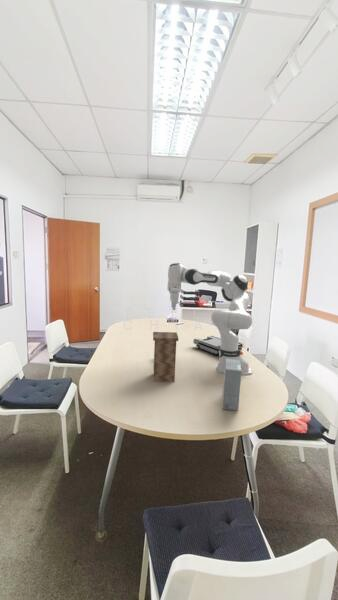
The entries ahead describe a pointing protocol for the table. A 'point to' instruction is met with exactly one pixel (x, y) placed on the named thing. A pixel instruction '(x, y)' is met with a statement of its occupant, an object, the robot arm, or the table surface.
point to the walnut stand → (164, 356)
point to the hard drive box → (231, 384)
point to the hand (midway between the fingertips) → (173, 308)
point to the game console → (211, 345)
